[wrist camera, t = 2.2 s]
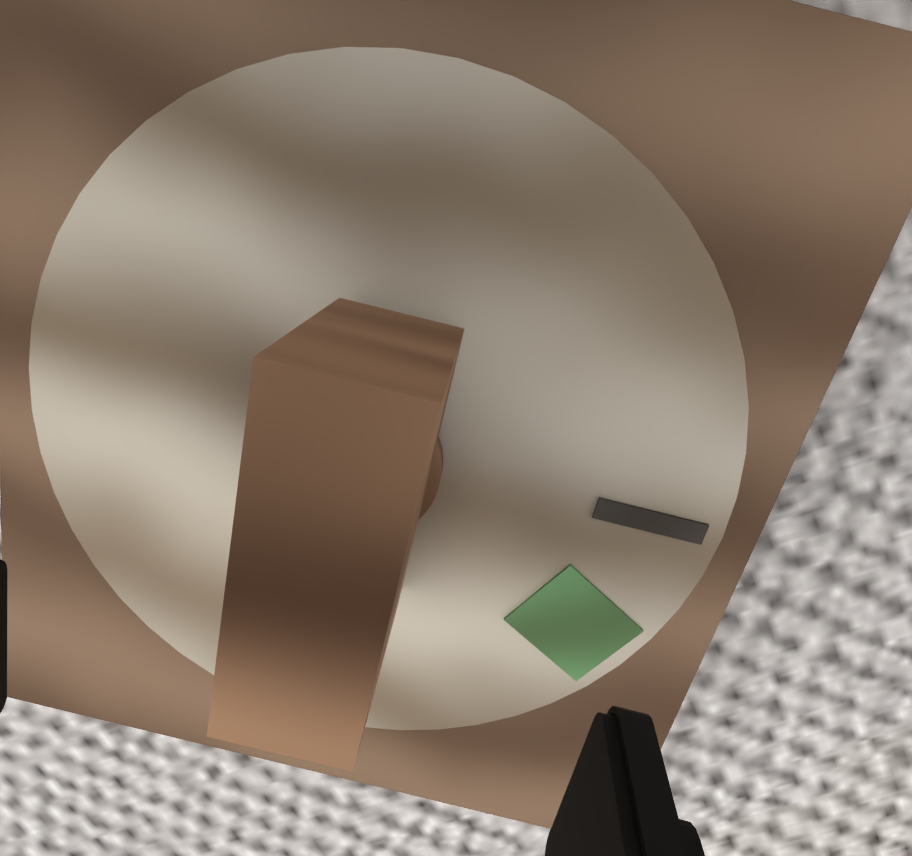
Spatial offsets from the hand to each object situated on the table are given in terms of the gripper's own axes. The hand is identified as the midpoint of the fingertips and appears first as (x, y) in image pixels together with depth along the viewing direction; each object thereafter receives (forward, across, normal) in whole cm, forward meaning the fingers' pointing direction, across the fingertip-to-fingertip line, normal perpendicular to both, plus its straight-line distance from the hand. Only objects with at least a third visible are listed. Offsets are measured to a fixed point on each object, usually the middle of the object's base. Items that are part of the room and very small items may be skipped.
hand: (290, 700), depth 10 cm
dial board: (+10, 0, -1) cm, 10 cm away
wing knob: (+8, 0, +1) cm, 8 cm away
